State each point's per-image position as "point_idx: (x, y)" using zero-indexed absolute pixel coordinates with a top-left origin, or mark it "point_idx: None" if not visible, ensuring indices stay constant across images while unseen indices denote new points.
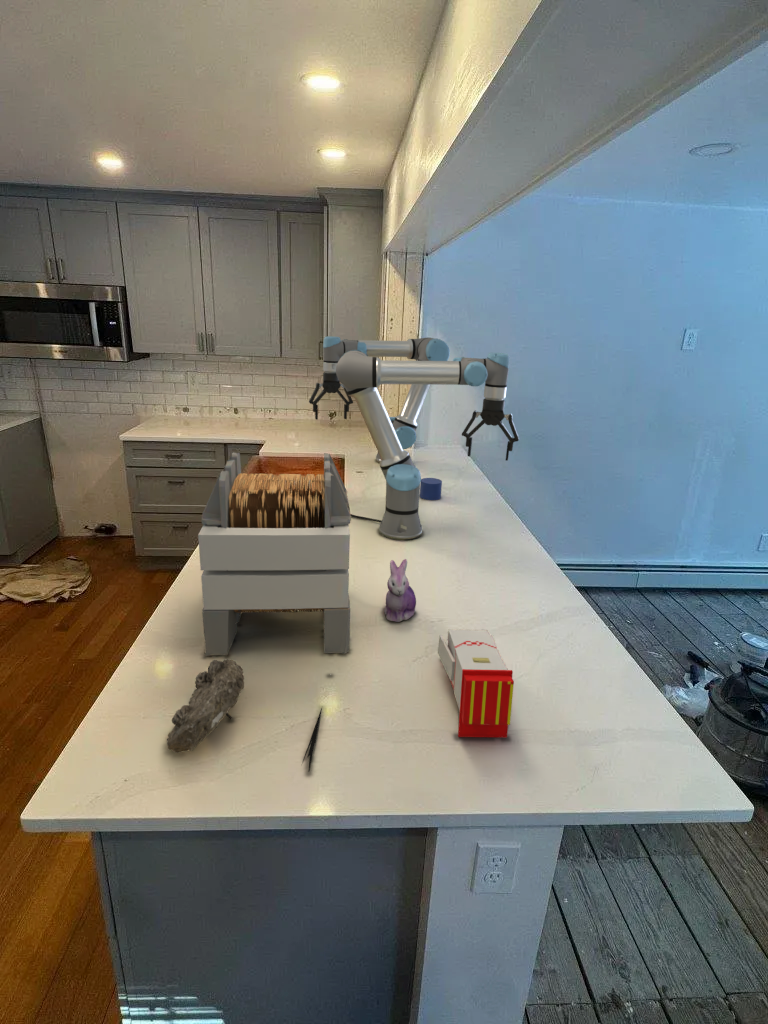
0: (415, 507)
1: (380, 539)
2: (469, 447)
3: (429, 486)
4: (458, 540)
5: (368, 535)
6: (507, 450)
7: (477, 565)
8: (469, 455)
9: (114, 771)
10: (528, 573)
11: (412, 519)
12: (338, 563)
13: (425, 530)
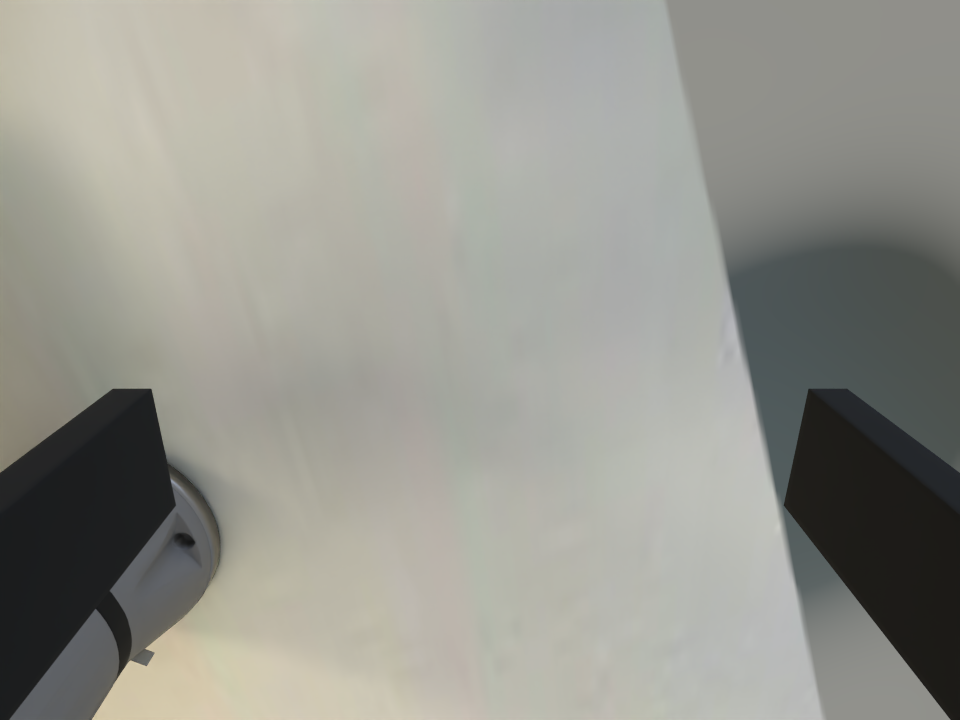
0: (108, 687)
1: None
2: (58, 623)
3: None
4: (404, 528)
5: None
6: (908, 644)
7: (522, 714)
8: (163, 516)
9: None
10: (714, 716)
11: (141, 649)
12: None
13: (214, 467)
